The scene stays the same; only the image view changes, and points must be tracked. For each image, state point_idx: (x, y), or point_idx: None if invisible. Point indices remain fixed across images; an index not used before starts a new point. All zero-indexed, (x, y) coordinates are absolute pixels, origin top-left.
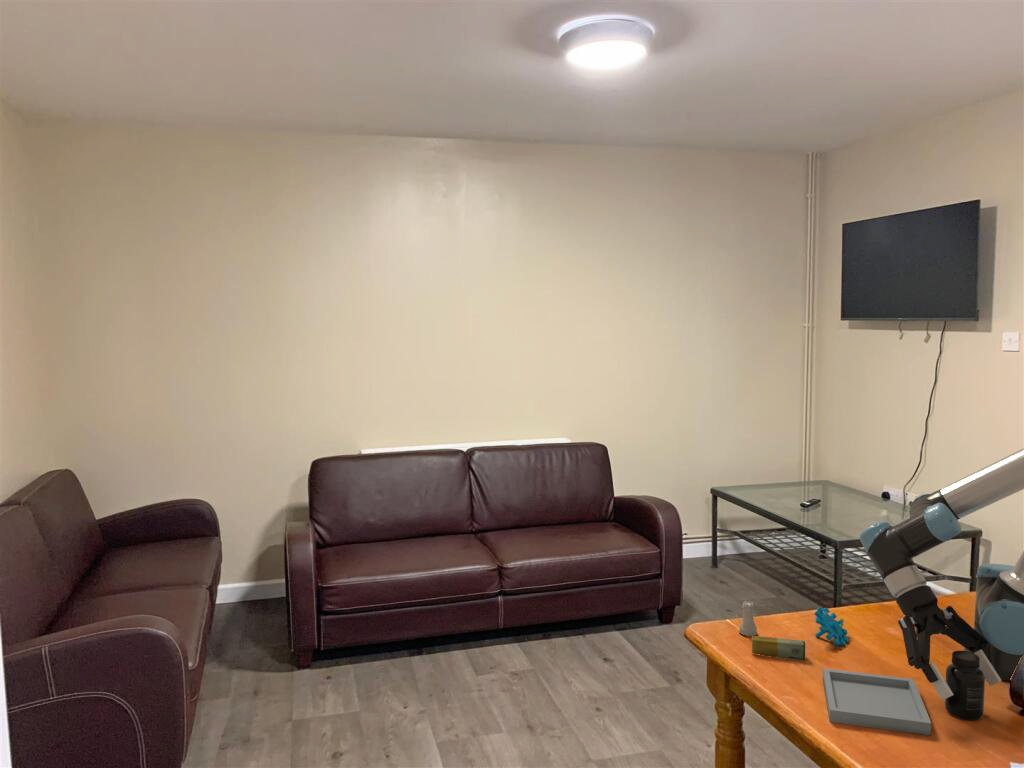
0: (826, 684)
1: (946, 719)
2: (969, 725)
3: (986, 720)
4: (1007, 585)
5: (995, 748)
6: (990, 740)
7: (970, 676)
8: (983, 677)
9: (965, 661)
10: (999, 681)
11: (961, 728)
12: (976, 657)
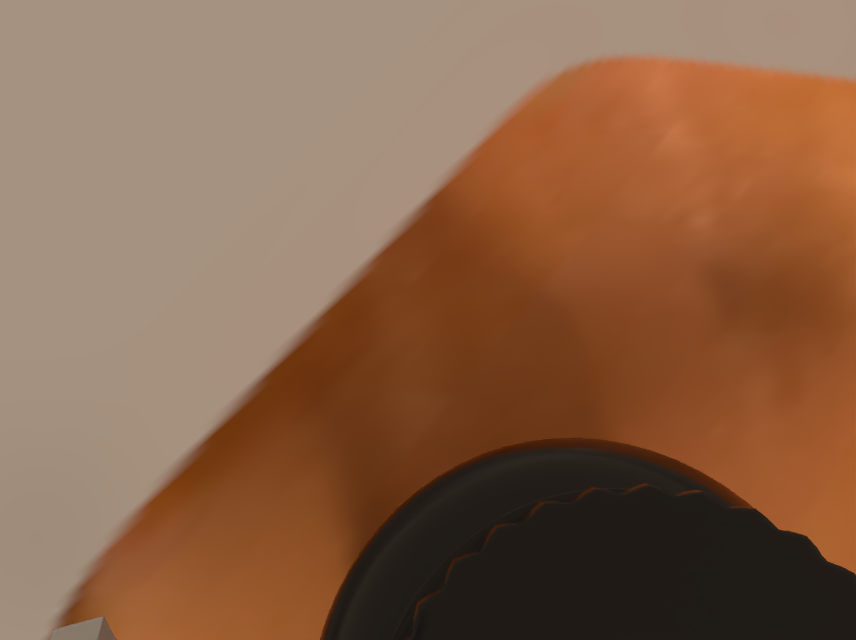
0: None
1: None
2: None
3: None
4: None
5: (616, 160)
6: (584, 246)
7: (664, 477)
8: (429, 488)
9: (807, 549)
10: (98, 618)
11: (700, 421)
12: (477, 631)
